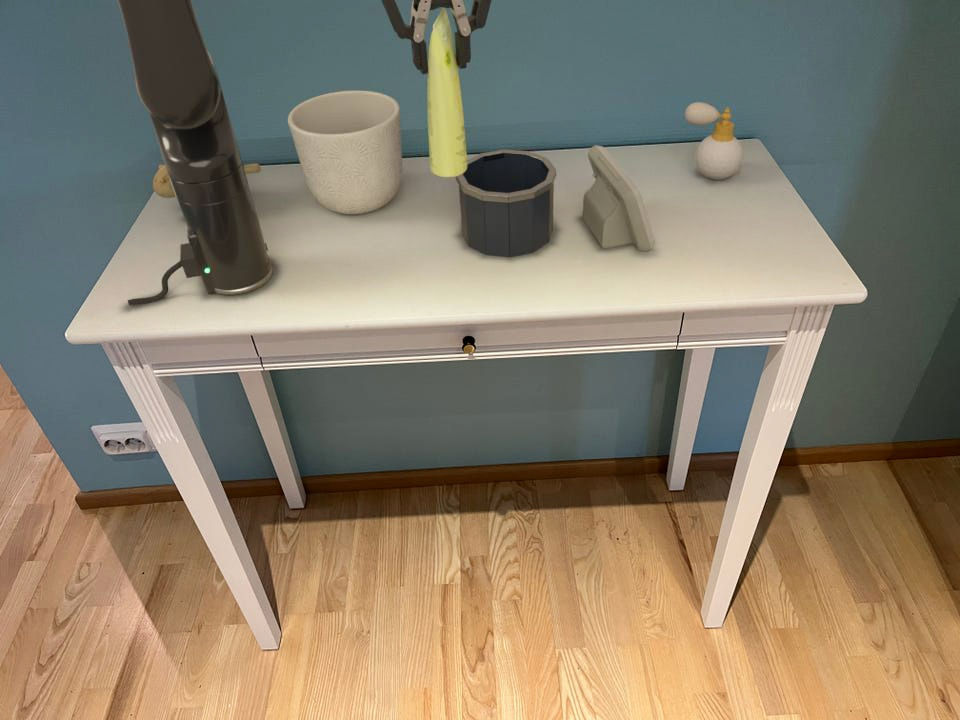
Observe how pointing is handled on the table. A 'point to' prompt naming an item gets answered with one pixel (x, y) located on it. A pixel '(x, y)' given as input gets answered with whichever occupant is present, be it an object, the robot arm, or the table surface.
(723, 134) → the perfume bottle
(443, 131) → the yellow elongated tapered cylinder
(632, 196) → the digital clock
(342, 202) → the planter
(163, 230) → the table surface
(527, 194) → the pail
